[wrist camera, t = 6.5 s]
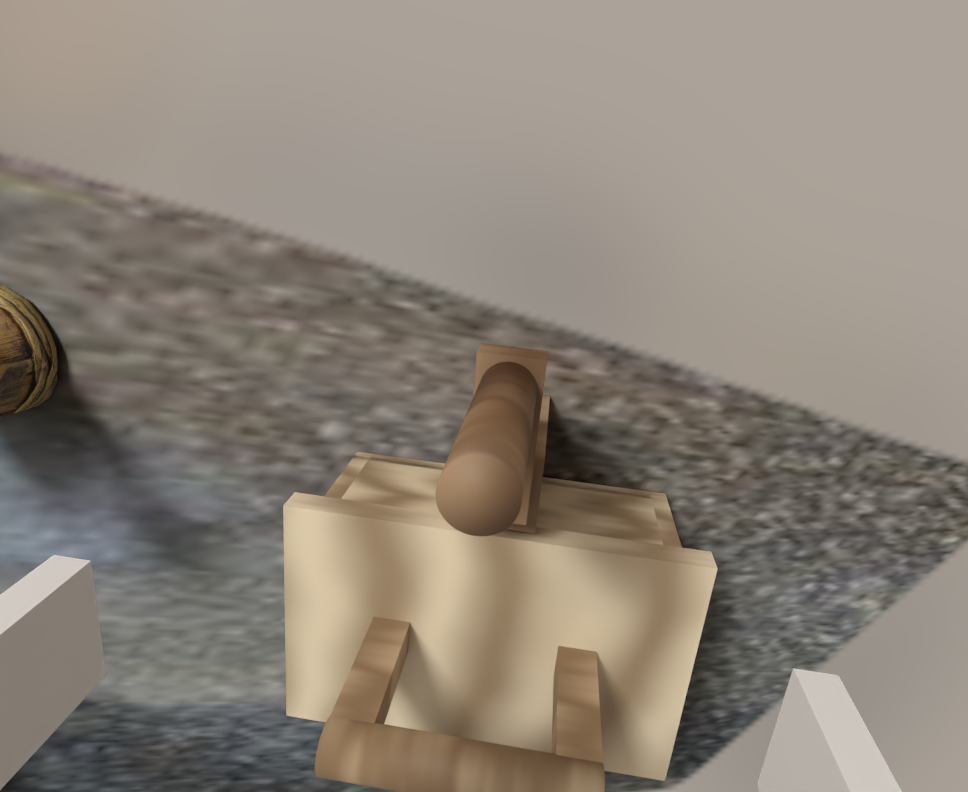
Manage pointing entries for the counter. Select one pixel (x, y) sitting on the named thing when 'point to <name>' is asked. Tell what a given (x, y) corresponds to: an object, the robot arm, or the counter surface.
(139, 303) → the counter surface
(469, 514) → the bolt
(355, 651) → the lid
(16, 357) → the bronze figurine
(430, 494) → the toolbox
